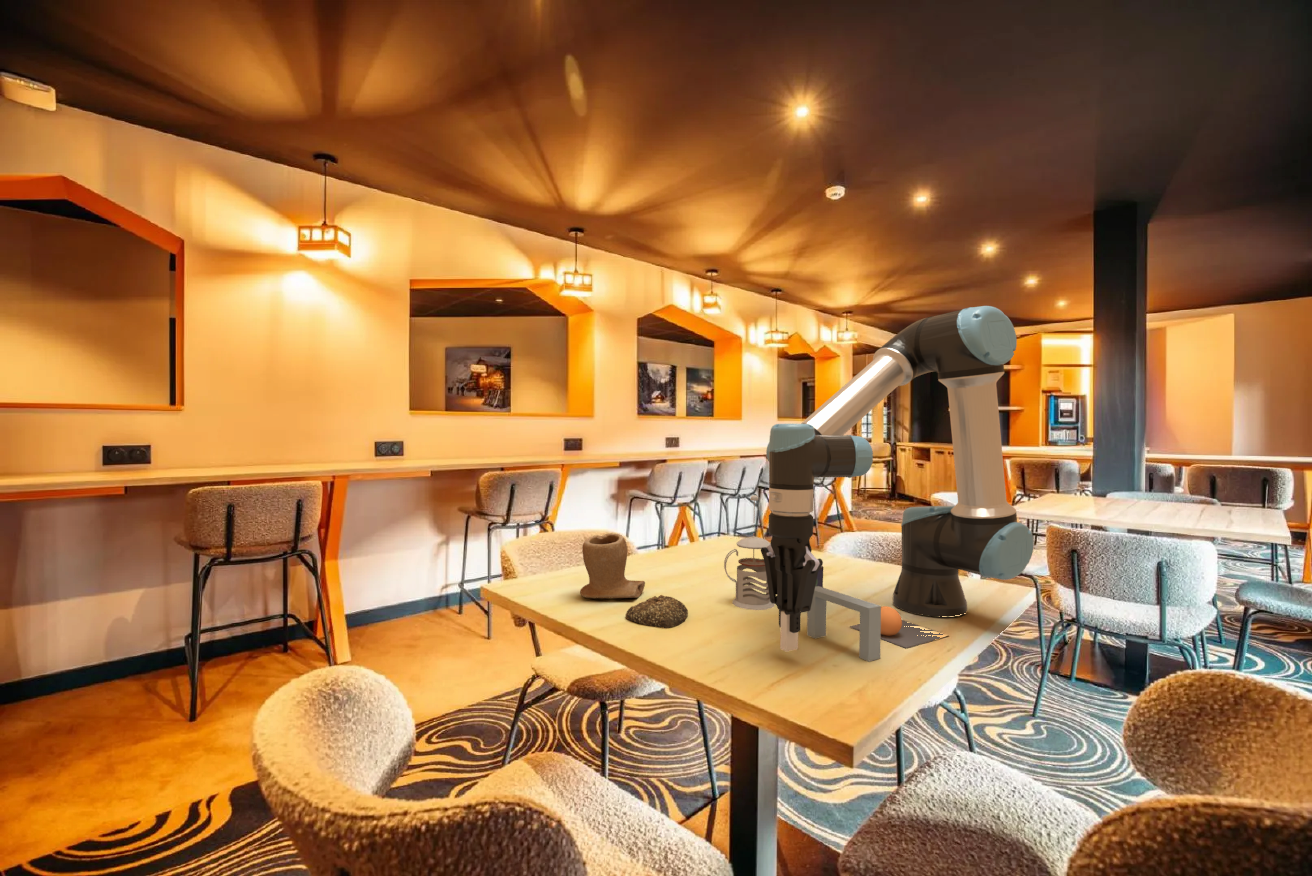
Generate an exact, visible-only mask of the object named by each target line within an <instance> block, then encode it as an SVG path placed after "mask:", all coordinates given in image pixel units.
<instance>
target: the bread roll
mask: <svg viewBox="0 0 1312 876" xmlns="http://www.w3.org/2000/svg"><path fill="white" fill-rule="evenodd" d="M688 616H689V611H688V608H687V607H686V605H685V604H684V603H683V602H682V601H681V600H679V599H677V598H675V597H673V596H667V595H665V596H664V595H663V594H661V595H659V596H656V595H654V596H653V597H649V598H648V599H646V600H645V601H641V602H639V603H637V604H635V605H631V606H630V607H629V608H628V610H627V611H626V612H625V618H627V619H626V620H629V621H630V622H633V623H635V622H636V624H639V623H640V624H641V625H645V626H649V627H655V626H657V627H656V628H661V627H664V628H663V629H669V628H670V627H671V628H673V626H674V627H677V626H680V625H681V624H682V623H684V622H685V621H686V619H687V618H688Z"/></svg>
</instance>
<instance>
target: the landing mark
mask: <svg viewBox="0 0 1312 876" xmlns="http://www.w3.org/2000/svg"><path fill="white" fill-rule="evenodd" d="M907 622H908V621H907V620H904V619H902V627H901V629H900V631H899V632H898V633H897V634H895V635H892V636H885V635H882V634H881V640H883V641H885V642H888V643H890V644H893V645H895V646H899V647H901V648H902V649H906V648H907V649H909V648H913V647H917V646H919V644H921V645H924V644H927V643H930V641H931V642H934V641H933V640H935V639H939V638H940V637H937V636H933V637H932V635H943V634H944V633H943V634H940V633H941V632H940V633H939V634H933V633H931V632H930V633H924V632H920V631H935V630H934V629H931V630H925V629H924V630H922V629H920V628H914V627H910V626H920V625H918V624H916V623H913V622H910V623H907ZM912 623H913V624H912ZM904 626H905V627H904ZM906 626H907V627H906ZM908 626H909V627H908ZM849 628H851V629H853V630H855V631H859V632H860V623H859V624H853V625H850V626H849ZM917 635H918V636H917ZM921 635H922V636H921ZM923 635H924V636H923ZM926 635H927V636H926ZM928 635H931V636H928ZM925 636H926V637H925ZM939 640H940V639H939ZM935 641H936V640H935ZM916 645H917V646H916Z"/></svg>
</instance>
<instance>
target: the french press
mask: <svg viewBox="0 0 1312 876" xmlns="http://www.w3.org/2000/svg"><path fill="white" fill-rule="evenodd" d="M749 499H750V501H753V522H755V517H756V516H755V515H756V514H755V509H756V508H755V507H756V506H755V501H759V497H758V495H756V494H755V495H753V494H752V495H751V496H750V498H749ZM770 544H771V542H769V541H768V540H767V539H765V538H762V537H758V536H755V534H753V535H752V536H750V537H744V538H741V539H740V540H738V541H737V542H736V544H735V545H736V546H737V547H739V548H742V549H747V550H748V549H749V550H750V549H751V550H752V552H753V556H752V557H745V558H744V557H743V558H739V559H738V560H737V561H738V564H739V565H737V566H736V579H734V578H733V577H731V576H730V575H729V574H728V571H727V563H728V559H729V557H730V556H731V555H732V554H733V553H735V555H736V557H739V550H738V549H736V548H734V549H732V550H730V551H729V552H727V554H726V556H725V558H724V562H723V563H724V564H723V565H724V566H723V567H724V568H723V569H724V571H725V574H726V577H727V578H729V580H730V581H732V582H733V583H735V598H733V599H732V601H731V604H732V605H733V606H734V607H737V608H740V609H746V610H753V611H763V610H769V609H772V608H775V606H776V604H775V603H774V604H772V603H771V602H770V596H769V589H768V582H767V575H766V568H765V561H764V558H759V557H758V558H756V557H755V550H761V548H763V547H768V546H769V545H770ZM747 569H748V570H752V571H747ZM755 578H757V579H758V580H761V581H758V580H757V579H755ZM762 581H763V582H762ZM756 584H757V585H756ZM763 587H764V588H763Z"/></svg>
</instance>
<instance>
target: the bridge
mask: <svg viewBox="0 0 1312 876" xmlns="http://www.w3.org/2000/svg"><path fill="white" fill-rule="evenodd" d="M827 602H829V603H832V604H835V605H837V606H840V607H842V608H843V607H844V608H846V609H849V610H853V611H855V612H859V624H860V631H859V650H858V651H859V654H858V655H859V656H858V658H859V659H862V660H864V661H865V662H872V661H876V660H879V659H881V642H882V641H881V640H882V639H881V607H882V605H880V604H877V603H873V602H870V601H867V600H863V599H860V598H858V597H857V598H856V597H854V596H851V595H848V594H845V593H842V592H839V591H835V590H832V589H829V588H825V587H824V586H823V587H820V586H817V587H815V590H814V595H813V599H812V604H811V609H810V611H808V612H806V613H807V614H806V615H807V616H806V617H807V618H806V619H807V623H806V624H807V625H806V626H807V627H806V635H807V636H808V637H809V638H812V639H819V638H824V637H827Z"/></svg>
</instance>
